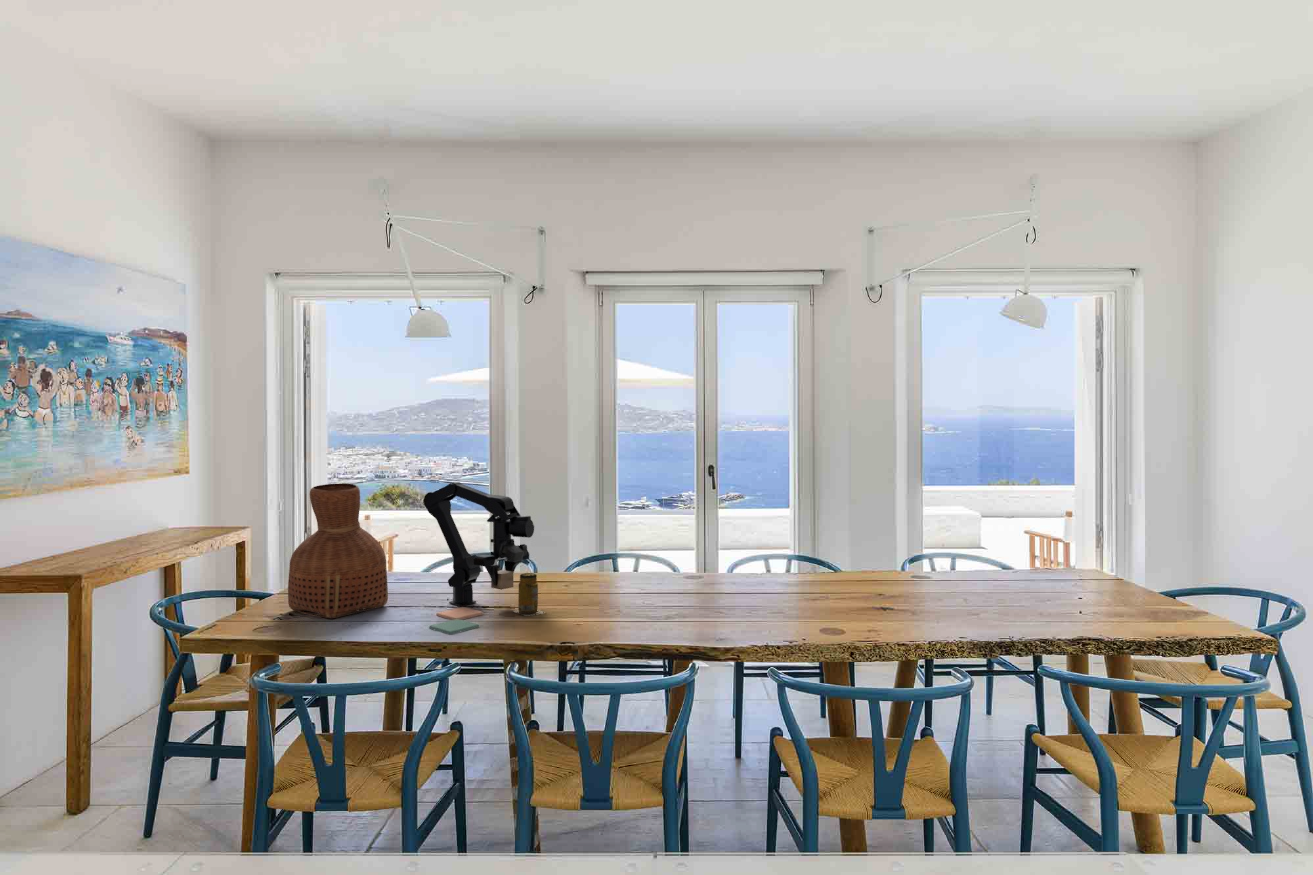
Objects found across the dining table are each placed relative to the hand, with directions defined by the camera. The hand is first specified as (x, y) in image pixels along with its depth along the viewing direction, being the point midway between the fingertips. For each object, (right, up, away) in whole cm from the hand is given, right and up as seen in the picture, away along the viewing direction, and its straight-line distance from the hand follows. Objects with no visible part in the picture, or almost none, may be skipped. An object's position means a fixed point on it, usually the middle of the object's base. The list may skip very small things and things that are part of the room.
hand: (502, 584), depth 247 cm
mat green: (-9, -8, -25) cm, 28 cm away
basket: (-52, -8, -3) cm, 52 cm away
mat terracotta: (-11, -8, -10) cm, 17 cm away
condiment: (+10, -8, -7) cm, 14 cm away
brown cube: (0, -1, 0) cm, 1 cm away
